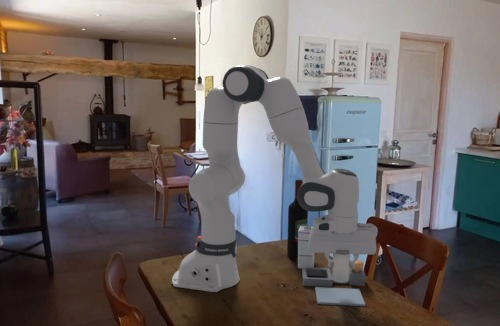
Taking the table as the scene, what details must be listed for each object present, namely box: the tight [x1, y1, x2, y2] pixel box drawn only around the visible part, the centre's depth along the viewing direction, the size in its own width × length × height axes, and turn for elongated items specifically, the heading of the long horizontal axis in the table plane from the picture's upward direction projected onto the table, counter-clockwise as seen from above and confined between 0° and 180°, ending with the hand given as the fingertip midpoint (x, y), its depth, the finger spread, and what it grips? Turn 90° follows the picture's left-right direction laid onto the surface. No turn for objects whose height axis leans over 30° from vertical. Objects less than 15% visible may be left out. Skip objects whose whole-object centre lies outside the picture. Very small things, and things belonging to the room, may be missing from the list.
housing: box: [301, 267, 366, 288], centre depth 140 cm, size 20×9×4 cm, turn 85°
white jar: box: [331, 250, 351, 284], centre depth 127 cm, size 5×5×10 cm
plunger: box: [349, 259, 364, 272], centre depth 139 cm, size 4×4×6 cm
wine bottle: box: [286, 179, 309, 260], centre depth 161 cm, size 8×8×30 cm
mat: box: [314, 286, 366, 307], centre depth 129 cm, size 14×10×1 cm
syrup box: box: [297, 225, 315, 270], centre depth 152 cm, size 6×6×14 cm
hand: (341, 266), depth 128 cm, fingers closed on white jar, 5 cm apart
